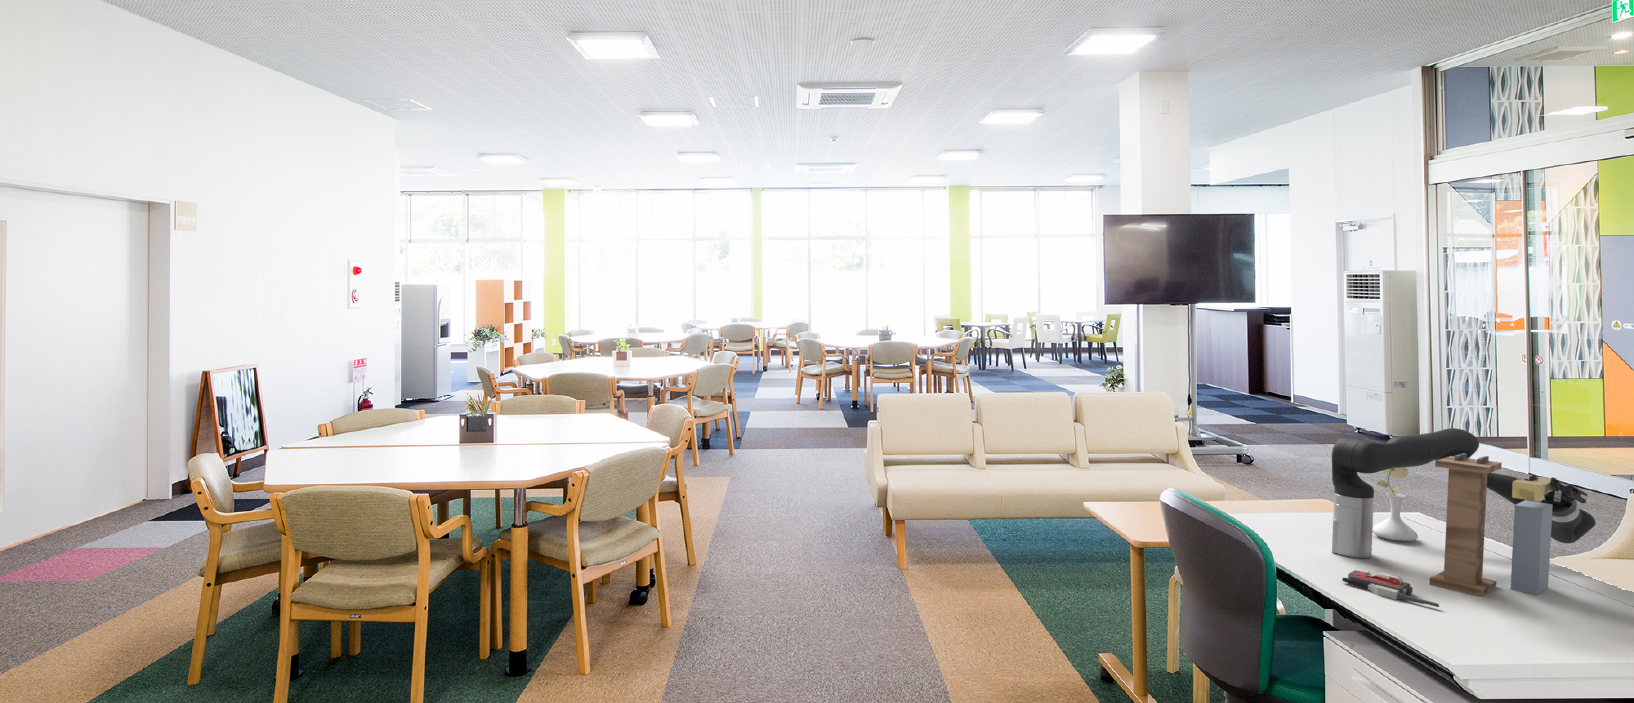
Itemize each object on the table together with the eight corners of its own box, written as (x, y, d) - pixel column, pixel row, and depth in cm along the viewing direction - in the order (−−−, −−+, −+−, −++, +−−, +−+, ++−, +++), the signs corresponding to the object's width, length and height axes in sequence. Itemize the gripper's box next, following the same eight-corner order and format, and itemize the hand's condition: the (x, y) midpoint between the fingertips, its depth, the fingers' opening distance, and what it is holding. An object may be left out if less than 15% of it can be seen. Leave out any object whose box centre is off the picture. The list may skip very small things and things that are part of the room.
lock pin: (1539, 501, 176) (1540, 485, 176) (1511, 497, 181) (1512, 481, 180) (1561, 489, 187) (1562, 473, 187) (1535, 485, 192) (1536, 470, 191)
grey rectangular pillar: (1537, 595, 179) (1542, 509, 178) (1510, 588, 183) (1514, 504, 182) (1548, 587, 184) (1552, 504, 183) (1521, 581, 188) (1525, 500, 187)
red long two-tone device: (1338, 586, 186) (1437, 612, 169) (1338, 569, 186) (1438, 594, 169) (1351, 579, 191) (1449, 603, 174) (1352, 562, 191) (1450, 585, 174)
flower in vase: (1427, 544, 219) (1431, 462, 217) (1389, 544, 219) (1393, 462, 218) (1394, 531, 232) (1397, 454, 230) (1358, 531, 232) (1361, 454, 231)
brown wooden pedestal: (1480, 596, 178) (1486, 462, 176) (1429, 583, 186) (1435, 456, 185) (1496, 586, 185) (1502, 457, 183) (1446, 574, 193) (1451, 451, 191)
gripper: (1524, 485, 202) (1509, 461, 193) (1597, 496, 190) (1584, 471, 181) (1519, 510, 200) (1503, 487, 191) (1592, 523, 188) (1579, 498, 179)
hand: (1543, 479), depth 186 cm, fingers closed on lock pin, 3 cm apart
